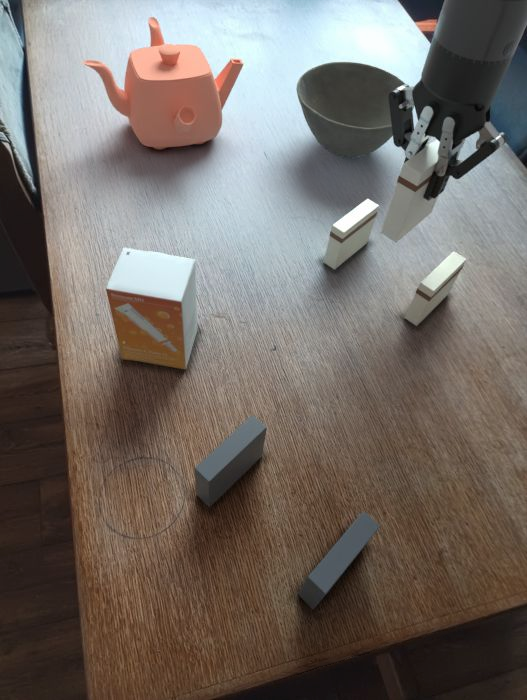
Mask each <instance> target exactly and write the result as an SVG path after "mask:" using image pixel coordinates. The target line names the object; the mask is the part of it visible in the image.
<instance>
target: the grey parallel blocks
mask: <svg viewBox="0 0 527 700" xmlns="http://www.w3.org/2000/svg"><path fill="white" fill-rule="evenodd" d="M267 429H268V427H267V425H265V424H264V423H263V422H261V421H260V420H259V419H258V418H257V417H256V416H255V415H253V414H252V415H250V417H248V418H247V420H245V421H244V422H243V423H241V425H240V426H238V428H237V429H236V430H234V431H233V432H232V433H231V434H230V435H229V436H228V437H227V438H226V439H224V440H223V441H222V442H221V443H220V444H219V445H218V446H217V447H216V448H215V449H213V450H212V451H211V452H210V453H209V454H208V455H207V456H206V457H205V458H203V459H202V460H201V461H200V462H198V464H197V465H196V466H195V467H194V480H195V494H196V496H197V497H198V498H199V499H200V500H201V501H202V502H203V503H204V504H205V505H206V506H207V507H208V508H211V507H212V506H213V505H214V504H215V503H216V502H217V501H218V500H219V499H220V498H221V497H222V496H223V495H224V494H225V493H226V492H228V490H229V489H231V487H232V486H233V485H234V484H236V482H238V480H240V478H242V477H243V476H244V474H246V472H248V471H249V470H250V469H251V468H252V467H253V466H254V465H255V464H256V463H257V462H258V461H259V460H260V459H261V458H262V456H263V452H264V446H265V441H266V435H267ZM380 528H381V525H380V524H379V523H378V522H377V521H376V520H374V518H372V517H371V516H370V515H369V514H368V513H366V511H364V510H363V511H361V513H360V514H359V515H358V516H357V517H356V518H355V520H354V521H353V522H352V523H351V525H350V526H348V528H347V530H345V532H344V533H342V535H341V536H340V537H339V538H338V540H337V541H336V542H335V544H334V545H333V546H332V547H331V548H330V549H329V551H328V552H327V553H326V554H325V556H324V557H323V558H322V559H321V561H320V562H319V563H318V564H317V565H316V566H315V568H314V569H313V570H312V571H311V573H309V575H308V576H307V578H306V579H305V580H304V583H303V584H302V586H301V588H300V589H299V591H298V592H297V595H298V597H300V598H301V599H302V600H303V601H304V602H305V603H306V604H307V605H308V606H309V607H310V608H311V609H312V610H315V609H316V608H317V606H318V605H319V604H320V602H321V601H322V600H323V599H324V598H325V597H326V596H327V594H328V593H329V592H330V591H331V589H332V588H333V586H334V585H335V584H336V583H337V582H338V580H339V579H340V578H341V576H343V574H344V573H345V572H346V571H347V569H348V567H350V565H351V564H352V563H353V562H354V561H355V559H356V558H357V557H358V555H359V554H360V553H361V552H362V550H363V549H364V548H365V546H366V545H367V544H368V543H369V541H370V540H371V539H372V538H373V536H374V535H375V534H376V533H377V531H379V530H380Z"/></svg>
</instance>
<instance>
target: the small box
mask: <svg viewBox="0 0 527 700" xmlns="http://www.w3.org/2000/svg"><path fill="white" fill-rule="evenodd" d="M119 254H120V255H119V257H118V260H117V261H116V264H115V266H114V267H113V268H114V269H113V271H112V273H111V275H110V278H109V280H108V282H107V286H106V287H105V291H106V295H107V301H108V304H109V309H110V315H111V319H112V321H113V327H114V330H115V331H114V332H115V334H116V340H117V343H118V348H119V352H120V357H121V359H122V360H127V361H134V362H141V363H146V364H147V363H148V364H152V365H157V366H164V367H169V368H175V369H178V370H179V369H180V370H187V368H188V364H189V361H190V357H191V355H192V350H193V348H194V347H193V346H194V343H195V340H196V336H197V332H198V305H197V302H198V301H197V278H196V259H194V258H189V257H183V256H177V255H172V254H168V253H164V252H159V251H152V250H151V251H149V250H143V249H137V248H130V247H122V248H121V252H120V253H119Z"/></svg>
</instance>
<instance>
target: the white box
mask: <svg viewBox="0 0 527 700" xmlns="http://www.w3.org/2000/svg"><path fill="white" fill-rule="evenodd" d="M439 144H440V142H439V141H438V140H437V139H436V138H435V140H433V141H431V143H430V144H429V143H428V144H427V146H426V147H425V148H424V149H423V150H421V151H420V152H419V153H417V154H416V155H414V156H413V157H412V158H410V159H409V160H408V161H406V162H405V163H404V162H403V164H402V166H401V170H400V172H399V175H398V177H397V180H396V185H395V188H394V191H393V193H392V194H393V195H392V196H391V200H390V203H389V205H388V209H387V211H386V215H385V218H384V221H383V224H382V228H381V231H380V234H382V235H384V236H385V237H386V238H388V239H389V240H391V241H393V242H394V243H398V242H399V241H400V240H401V239H403V238H404V237H405V236H406V235H408V233H410V232H411V231H412V230H413V229H414V228H416V227H417V226H418V225H419V224H420V223H421V222H423V221H424V220H425V219H426V218H427V217H428V216H429V215H431V214H432V212H433V210H434V207H435V205H436V203H437V200H438V198H439V196H440V195H438V196H437V197H436V198H435V199H434V198H432V199H431V200H429V201H428V200H426V199H424V198H423V196H424V194H425V191H426V189H427V186H428V184H429V181H430V179H431V176H432V173H433V172H434V171H435V169H436V165H437V161H438V157H439V155H438V154H437V152H438V148H439Z"/></svg>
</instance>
